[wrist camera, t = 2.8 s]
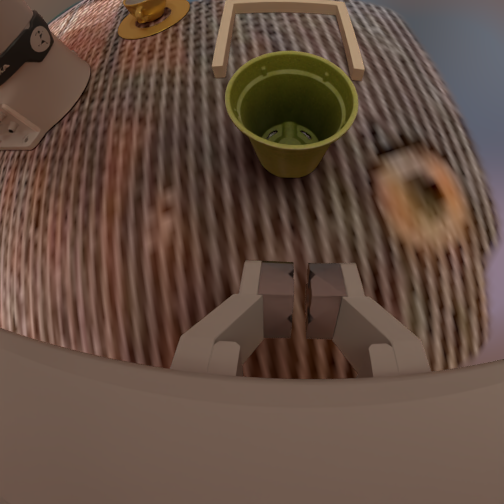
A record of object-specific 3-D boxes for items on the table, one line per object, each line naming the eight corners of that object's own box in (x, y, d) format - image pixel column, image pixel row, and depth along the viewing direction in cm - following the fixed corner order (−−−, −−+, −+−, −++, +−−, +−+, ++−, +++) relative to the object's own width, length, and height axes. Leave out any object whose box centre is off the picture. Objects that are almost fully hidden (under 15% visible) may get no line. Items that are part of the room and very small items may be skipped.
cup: (129, 9, 36) (119, -11, 31) (194, -7, 35) (187, -30, 30) (110, 49, 34) (95, 26, 28) (184, 30, 33) (174, 3, 27)
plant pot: (358, 151, 27) (383, 96, 18) (293, 218, 26) (298, 175, 17) (286, 98, 28) (286, 37, 20) (219, 154, 28) (197, 98, 19)
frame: (215, 78, 30) (211, 66, 28) (227, 10, 32) (225, 0, 30) (361, 81, 28) (364, 69, 26) (342, 12, 31) (344, 2, 29)
